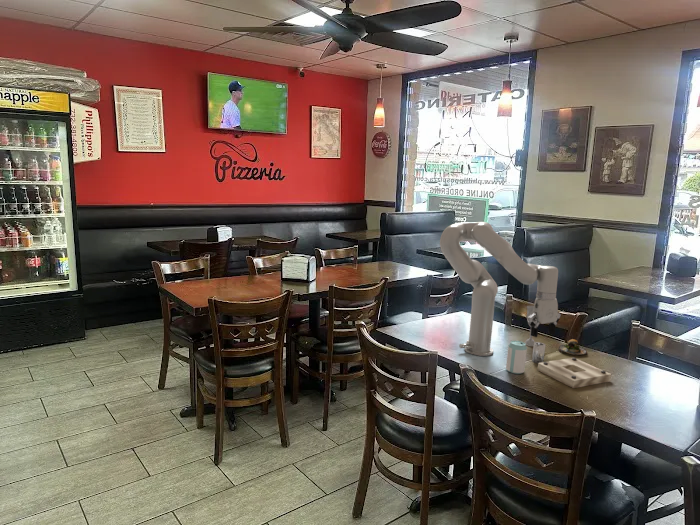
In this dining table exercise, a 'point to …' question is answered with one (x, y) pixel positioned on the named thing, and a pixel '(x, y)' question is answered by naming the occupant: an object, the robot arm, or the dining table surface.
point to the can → (516, 357)
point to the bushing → (538, 352)
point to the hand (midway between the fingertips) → (542, 334)
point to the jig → (574, 372)
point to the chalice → (529, 312)
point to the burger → (572, 348)
